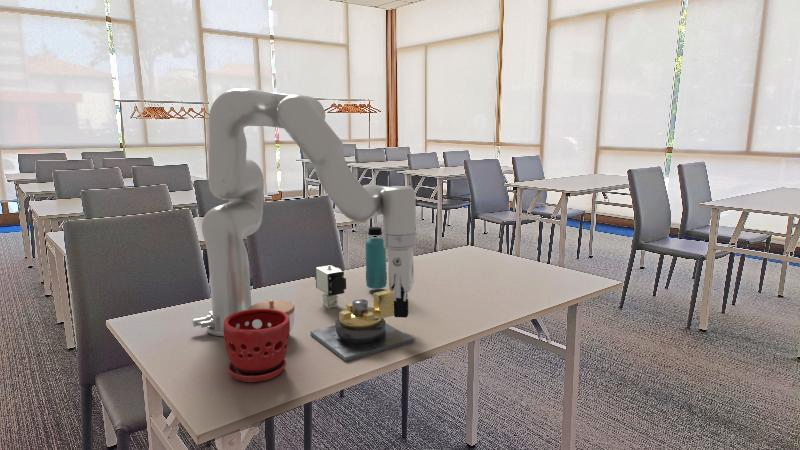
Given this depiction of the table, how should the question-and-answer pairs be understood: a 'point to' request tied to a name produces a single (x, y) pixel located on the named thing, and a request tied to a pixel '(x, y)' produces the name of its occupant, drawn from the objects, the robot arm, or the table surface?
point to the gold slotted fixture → (367, 311)
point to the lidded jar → (275, 305)
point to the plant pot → (256, 344)
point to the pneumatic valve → (330, 284)
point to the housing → (360, 340)
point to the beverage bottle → (375, 260)
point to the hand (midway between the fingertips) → (401, 315)
